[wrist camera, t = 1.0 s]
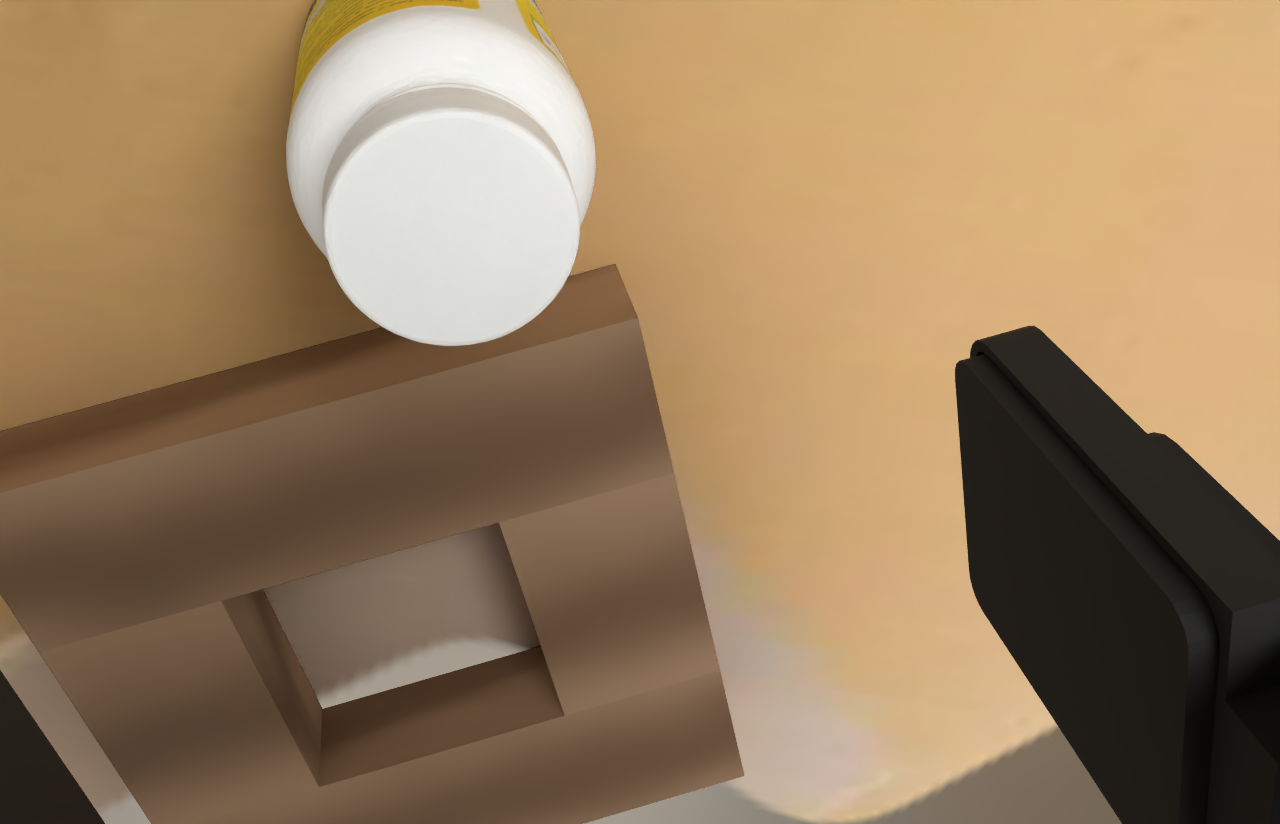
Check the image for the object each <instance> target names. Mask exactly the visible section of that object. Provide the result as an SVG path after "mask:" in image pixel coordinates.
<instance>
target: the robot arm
mask: <svg viewBox="0 0 1280 824" xmlns="http://www.w3.org/2000/svg"><path fill="white" fill-rule="evenodd" d="M955 382H956V396H957V409H958V423H959V437H960V451H961V464H962V478H963V492H964V506H965V520H966V533H967V547H968V561H969V573H970V579H971V583H972V587H973V590H974V593H975V596H976V599H977V601H978V603H979V605H980V607H981V609H982V611H983V612H984V614H985V615H986V617H987V618H988V620H989V621H990V623H991V624H992V626H993V628H994V629H995V631H996V632H997V634H998V635H999V637H1000V638H1001V640H1002V641H1003V643H1004V644H1005V646H1006V647H1007V649H1008V650H1009V652H1010V653H1011V655H1012V656H1013V658H1014V660H1015V661H1016V663H1017V664H1018V666H1019V667H1020V669H1021V670H1022V672H1023V673H1024V675H1025V676H1026V678H1027V679H1028V681H1029V682H1030V684H1031V685H1032V687H1033V688H1034V690H1035V692H1036V693H1037V695H1038V696H1039V698H1040V699H1041V701H1042V702H1043V704H1044V705H1045V707H1046V708H1047V710H1048V711H1049V713H1050V714H1051V716H1052V717H1053V719H1054V720H1055V722H1056V724H1057V725H1058V727H1059V728H1060V730H1061V731H1062V733H1063V734H1064V736H1065V737H1066V739H1067V740H1068V742H1069V743H1070V745H1071V746H1072V748H1073V749H1074V751H1075V752H1076V754H1077V756H1078V757H1079V759H1080V760H1081V761H1082V763H1083V765H1084V766H1085V768H1086V769H1087V771H1088V772H1089V774H1090V775H1091V777H1092V778H1093V780H1094V781H1095V783H1096V784H1097V786H1098V787H1099V789H1100V791H1101V792H1102V794H1103V795H1104V797H1105V798H1106V800H1107V801H1108V803H1109V804H1110V806H1111V807H1112V809H1113V810H1114V812H1115V813H1116V815H1117V817H1118V818H1119V820H1120V821H1121V822H1122V824H1280V541H1279V540H1278V539H1277V538H1276V537H1275V536H1274V535H1273V534H1272V533H1271V532H1270V531H1269V530H1268V529H1267V528H1265V527H1264V526H1263V525H1262V524H1261V523H1260V522H1259V521H1258V520H1257V519H1256V518H1255V517H1254V516H1253V515H1252V514H1251V513H1250V512H1249V511H1248V510H1247V509H1245V508H1244V507H1243V506H1242V505H1241V504H1240V503H1239V502H1238V501H1237V500H1236V499H1235V498H1234V497H1233V496H1232V495H1231V494H1230V493H1229V492H1228V491H1227V490H1225V489H1224V488H1223V487H1222V486H1221V485H1220V484H1219V483H1218V482H1217V481H1216V480H1215V479H1214V478H1213V477H1212V476H1211V475H1210V474H1209V473H1208V472H1207V471H1205V470H1204V469H1203V468H1202V467H1201V466H1200V465H1199V464H1198V463H1197V462H1196V461H1195V460H1194V459H1193V458H1192V457H1191V456H1190V455H1189V454H1188V453H1186V452H1185V451H1184V450H1183V449H1182V448H1181V447H1180V446H1179V445H1178V444H1177V443H1176V442H1174V441H1173V440H1172V439H1170V438H1169V437H1167V436H1166V435H1165V434H1159V433H1154V432H1153V433H1150V434H1147V433H1146V432H1145V431H1144V430H1143V429H1142V428H1141V427H1140V426H1139V425H1138V424H1137V423H1136V422H1135V421H1133V420H1132V419H1131V418H1130V417H1129V416H1128V415H1127V414H1126V413H1125V412H1124V411H1123V410H1122V409H1121V408H1120V407H1119V406H1118V405H1117V404H1116V403H1115V402H1114V401H1113V400H1112V399H1111V398H1110V397H1109V396H1108V395H1107V394H1106V393H1105V392H1104V391H1103V390H1102V389H1101V388H1100V387H1099V386H1098V385H1097V384H1095V383H1094V382H1093V381H1092V380H1091V379H1090V378H1089V377H1088V376H1087V375H1086V374H1085V373H1084V372H1083V371H1082V370H1081V369H1080V368H1079V367H1078V366H1077V365H1076V364H1075V363H1074V362H1073V361H1072V360H1071V359H1070V358H1069V357H1068V356H1067V355H1066V354H1065V353H1064V352H1063V351H1062V350H1061V349H1060V348H1059V347H1057V346H1056V345H1055V344H1054V343H1053V342H1052V341H1051V340H1050V339H1049V338H1048V337H1047V336H1046V335H1045V334H1044V333H1043V332H1042V331H1041V330H1040V329H1038V328H1037V327H1035V326H1027V327H1023V328H1020V329H1016V330H1013V331H1009V332H1005V333H1002V334H998V335H995V336H991V337H987V338H984V339H980V340H977V341H975V342H974V343H973V344H972V348H971V352H970V358H969V359H965V360H961V361H959V362H958V363H957V364H956V368H955ZM0 824H105V823H104V821H103V820H102V818H101V817H100V815H99V814H98V812H97V811H96V810H95V808H94V807H93V805H92V804H91V802H90V801H89V799H88V798H87V796H86V795H85V793H84V792H83V791H82V789H81V788H80V786H79V785H78V783H77V782H76V780H75V779H74V777H73V776H72V774H71V773H70V771H69V770H68V769H67V767H66V766H65V764H64V763H63V761H62V760H61V758H60V757H59V755H58V754H57V752H56V751H55V750H54V748H53V747H52V745H51V744H50V742H49V741H48V739H47V738H46V736H45V735H44V733H43V732H42V731H41V729H40V728H39V726H38V725H37V723H36V722H35V720H34V719H33V717H32V716H31V714H30V713H29V712H28V710H27V709H26V707H25V706H24V704H23V703H22V701H21V700H20V698H19V697H18V695H17V694H16V693H15V691H14V690H13V688H12V687H11V685H10V684H9V682H8V681H7V679H6V678H5V676H4V675H3V673H2V672H1V671H0Z"/></svg>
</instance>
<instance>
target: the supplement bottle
mask: <svg viewBox="0 0 1280 824" xmlns="http://www.w3.org/2000/svg"><path fill="white" fill-rule="evenodd" d="M286 166H287V174H288V180H289V186H290V190H291V194H292V198H293V201H294V204H295V207H296V210H297V212H298V214H299V217H300V219H301V221H302V223H303V225H304V227H305V228H306V230H307V232H308V233H309V235H310V236H311V238H312V239H313V241H314V243H315V244H316V245H317V246H318V248H319V249H320V250H321V252H322V253H323V254H324V255H325V256H326V257H327V259H328V262H329V264H330V267H331V269H332V272H333V274H334V276H335V278H336V280H337V282H338V284H339V285H340V287H341V288H342V290H343V291H344V293H345V294H346V295H347V296H348V298H349V299H350V300H351V302H352V303H353V304H354V305H355V306H356V307H357V308H358V309H359V310H360V311H361V312H362V313H364V314H365V315H366V316H367V317H368V318H370V319H371V320H373V321H374V322H376V323H377V324H379V325H380V326H382V327H383V328H385V329H387V330H389V331H391V332H393V333H394V334H397V335H400V336H402V337H405V338H407V339H410V340H414V341H417V342H421V343H426V344H432V345H440V346H462V345H471V344H477V343H482V342H487V341H490V340H494V339H497V338H500V337H502V336H505V335H507V334H509V333H511V332H513V331H515V330H517V329H519V328H521V327H522V326H524V325H525V324H527V323H528V322H530V321H531V320H532V319H534V318H535V317H536V316H537V315H539V314H540V313H541V312H542V311H543V310H544V309H545V308H546V307H547V306H548V305H549V304H550V303H551V302H552V301H553V300H554V298H555V297H556V296H557V294H558V293H559V291H560V290H561V289H562V287H563V286H564V284H565V282H566V280H567V278H568V276H569V274H570V272H571V269H572V267H573V264H574V261H575V258H576V254H577V250H578V245H579V238H580V226H581V224H582V221H583V219H584V217H585V214H586V212H587V209H588V206H589V202H590V199H591V196H592V192H593V187H594V180H595V172H596V155H595V144H594V137H593V131H592V127H591V123H590V120H589V116H588V114H587V110H586V108H585V105H584V102H583V100H582V97H581V95H580V92H579V90H578V89H577V87H576V85H575V83H574V81H573V79H572V77H571V75H570V73H569V70H568V68H567V66H566V64H565V62H564V60H563V58H562V56H561V54H560V51H559V49H558V47H557V45H556V43H555V41H554V39H553V37H552V35H551V32H550V30H549V28H548V26H547V24H546V22H545V20H544V18H543V16H542V14H541V12H540V10H539V8H538V7H537V5H536V3H535V1H534V0H314V2H313V4H312V6H311V9H310V11H309V14H308V17H307V20H306V23H305V27H304V31H303V35H302V40H301V44H300V49H299V56H298V62H297V69H296V77H295V84H294V91H293V98H292V105H291V111H290V117H289V124H288V132H287V140H286Z"/></svg>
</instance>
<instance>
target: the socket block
mask: <svg viewBox="0 0 1280 824" xmlns="http://www.w3.org/2000/svg"><path fill="white" fill-rule="evenodd" d="M496 523H499V525H500V527H501V530H502V533H503V536H504V539H505V542H506V545H507V548H508V551H509V554H510V557H511V560H512V563H513V566H514V569H515V571H516V574H517V577H518V580H519V583H520V586H521V589H522V592H523V595H524V598H525V601H526V604H527V607H528V610H529V613H530V615H531V618H532V621H533V624H534V627H535V630H536V633H537V636H538V639H539V642H540V645H541V646H540V647H537V648H533V649H530V650H526V651H523V652H519V653H516V654H512V655H509V656H505V657H502V658H498V659H495V660H492V661H488V662H485V663H481V664H478V665H474V666H471V667H467V668H464V669H461V670H457V671H453V672H450V673H446V674H443V675H439V676H436V677H432V678H429V679H425V680H422V681H419V682H415V683H412V684H409V685H405V686H401V687H398V688H394V689H391V690H387V691H384V692H380V693H377V694H374V695H370V696H366V697H363V698H359V699H356V700H353V701H349V702H346V703H342V704H339V705H335V706H332V707H328V708H325V709H322V707H321V705H320V703H319V701H318V699H317V697H316V695H315V693H314V691H313V689H312V687H311V685H310V683H309V681H308V679H307V677H306V675H305V673H304V671H303V669H302V667H301V665H300V663H299V661H298V659H297V657H296V655H295V653H294V651H293V649H292V647H291V645H290V643H289V641H288V639H287V637H286V635H285V633H284V631H283V629H282V627H281V625H280V623H279V621H278V619H277V617H276V615H275V613H274V611H273V609H272V607H271V605H270V603H269V601H268V599H267V597H266V595H265V593H264V591H263V589H265V588H269V587H272V586H276V585H279V584H283V583H286V582H290V581H293V580H297V579H300V578H304V577H308V576H311V575H315V574H318V573H322V572H325V571H329V570H332V569H336V568H340V567H343V566H347V565H350V564H354V563H357V562H361V561H364V560H368V559H371V558H375V557H379V556H382V555H386V554H389V553H393V552H396V551H400V550H403V549H407V548H410V547H414V546H418V545H421V544H425V543H428V542H432V541H435V540H439V539H442V538H446V537H449V536H453V535H457V534H460V533H464V532H467V531H471V530H474V529H478V528H481V527H485V526H488V525H492V524H496ZM0 594H1V596H2V597H3V599H4V600H5V602H6V603H7V605H8V606H9V608H10V609H11V611H12V612H13V614H14V615H15V617H16V618H17V620H18V621H19V623H20V624H21V626H22V628H23V629H24V631H25V632H26V634H27V635H28V637H29V638H30V640H31V641H32V643H33V644H34V646H35V647H36V649H37V650H38V652H39V653H40V655H41V656H42V658H43V659H44V661H45V662H46V664H47V666H48V667H49V669H50V670H51V672H52V673H53V675H54V676H55V678H56V679H57V681H58V682H59V684H60V685H61V687H62V688H63V690H64V691H65V693H66V694H67V696H68V697H69V699H70V701H71V702H72V704H73V705H74V707H75V708H76V710H77V711H78V713H79V714H80V716H81V717H82V719H83V720H84V722H85V723H86V725H87V726H88V728H89V729H90V731H91V732H92V734H93V736H94V737H95V739H96V740H97V742H98V743H99V745H100V746H101V748H102V749H103V751H104V752H105V754H106V755H107V757H108V758H109V760H110V761H111V763H112V764H113V766H114V767H115V769H116V771H117V772H118V774H119V775H120V777H121V778H122V780H123V781H124V783H125V784H126V786H127V787H128V789H129V790H130V792H131V793H132V795H133V796H134V798H135V799H136V801H137V802H138V804H139V806H140V807H141V809H142V810H143V812H144V813H145V814H146V816H147V818H148V819H149V820H150V822H151V824H583V823H587V822H590V821H593V820H597V819H600V818H603V817H607V816H610V815H614V814H617V813H620V812H623V811H627V810H630V809H634V808H637V807H641V806H644V805H647V804H651V803H654V802H658V801H661V800H664V799H667V798H671V797H674V796H678V795H681V794H685V793H688V792H691V791H694V790H698V789H701V788H705V787H708V786H711V785H715V784H718V783H722V782H725V781H728V780H732V779H735V778H739V777H742V776H744V772H743V768H742V764H741V759H740V755H739V751H738V746H737V742H736V738H735V733H734V729H733V725H732V721H731V716H730V712H729V708H728V703H727V699H726V695H725V690H724V686H723V682H722V678H721V673H720V669H719V665H718V660H717V656H716V652H715V647H714V643H713V639H712V635H711V630H710V626H709V622H708V617H707V613H706V609H705V604H704V600H703V596H702V592H701V587H700V583H699V579H698V574H697V570H696V566H695V561H694V557H693V553H692V549H691V544H690V540H689V536H688V531H687V527H686V523H685V518H684V514H683V510H682V506H681V501H680V497H679V493H678V488H677V484H676V480H675V475H674V471H673V467H672V463H671V458H670V454H669V450H668V445H667V441H666V437H665V432H664V428H663V424H662V420H661V415H660V411H659V407H658V402H657V398H656V394H655V389H654V385H653V381H652V377H651V372H650V368H649V364H648V359H647V355H646V351H645V346H644V342H643V338H642V334H641V329H640V325H639V321H638V317H637V315H636V312H635V310H634V307H633V305H632V303H631V300H630V298H629V295H628V293H627V291H626V288H625V286H624V283H623V281H622V279H621V276H620V274H619V271H618V269H617V267H616V264H614V265H611V266H607V267H603V268H600V269H596V270H592V271H589V272H585V273H581V274H577V275H574V276H570V277H568V278H567V280H566V282H565V284H564V286H563V287H562V289H561V290H560V291H559V293H558V294H557V296H556V297H555V298H554V300H553V301H552V302H551V303H550V304H549V305H548V306H547V307H546V308H545V309H544V310H543V311H542V312H541V313H540V314H539V315H537V316H536V317H535V318H534V319H532V320H531V321H530V322H528V323H527V324H525V325H524V326H522V327H521V328H519V329H517V330H515V331H513V332H511V333H509V334H507V335H505V336H502V337H500V338H497V339H494V340H490V341H487V342H482V343H477V344H471V345H462V346H440V345H432V344H426V343H421V342H417V341H414V340H410V339H407V338H405V337H402V336H400V335H397V334H394V333H393V332H391V331H389V330H387V329H385V328H379V329H375V330H372V331H368V332H364V333H361V334H357V335H353V336H350V337H346V338H342V339H339V340H335V341H331V342H328V343H324V344H320V345H316V346H313V347H309V348H305V349H302V350H298V351H294V352H291V353H287V354H283V355H280V356H276V357H272V358H269V359H265V360H261V361H258V362H254V363H250V364H247V365H243V366H239V367H236V368H232V369H228V370H225V371H221V372H217V373H214V374H210V375H206V376H203V377H199V378H195V379H192V380H188V381H184V382H180V383H177V384H173V385H169V386H166V387H162V388H158V389H155V390H151V391H147V392H144V393H140V394H136V395H133V396H129V397H125V398H122V399H118V400H114V401H111V402H107V403H103V404H100V405H96V406H92V407H89V408H85V409H81V410H78V411H74V412H70V413H67V414H63V415H59V416H56V417H52V418H48V419H44V420H41V421H37V422H33V423H30V424H26V425H22V426H19V427H15V428H11V429H8V430H4V431H0Z"/></svg>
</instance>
